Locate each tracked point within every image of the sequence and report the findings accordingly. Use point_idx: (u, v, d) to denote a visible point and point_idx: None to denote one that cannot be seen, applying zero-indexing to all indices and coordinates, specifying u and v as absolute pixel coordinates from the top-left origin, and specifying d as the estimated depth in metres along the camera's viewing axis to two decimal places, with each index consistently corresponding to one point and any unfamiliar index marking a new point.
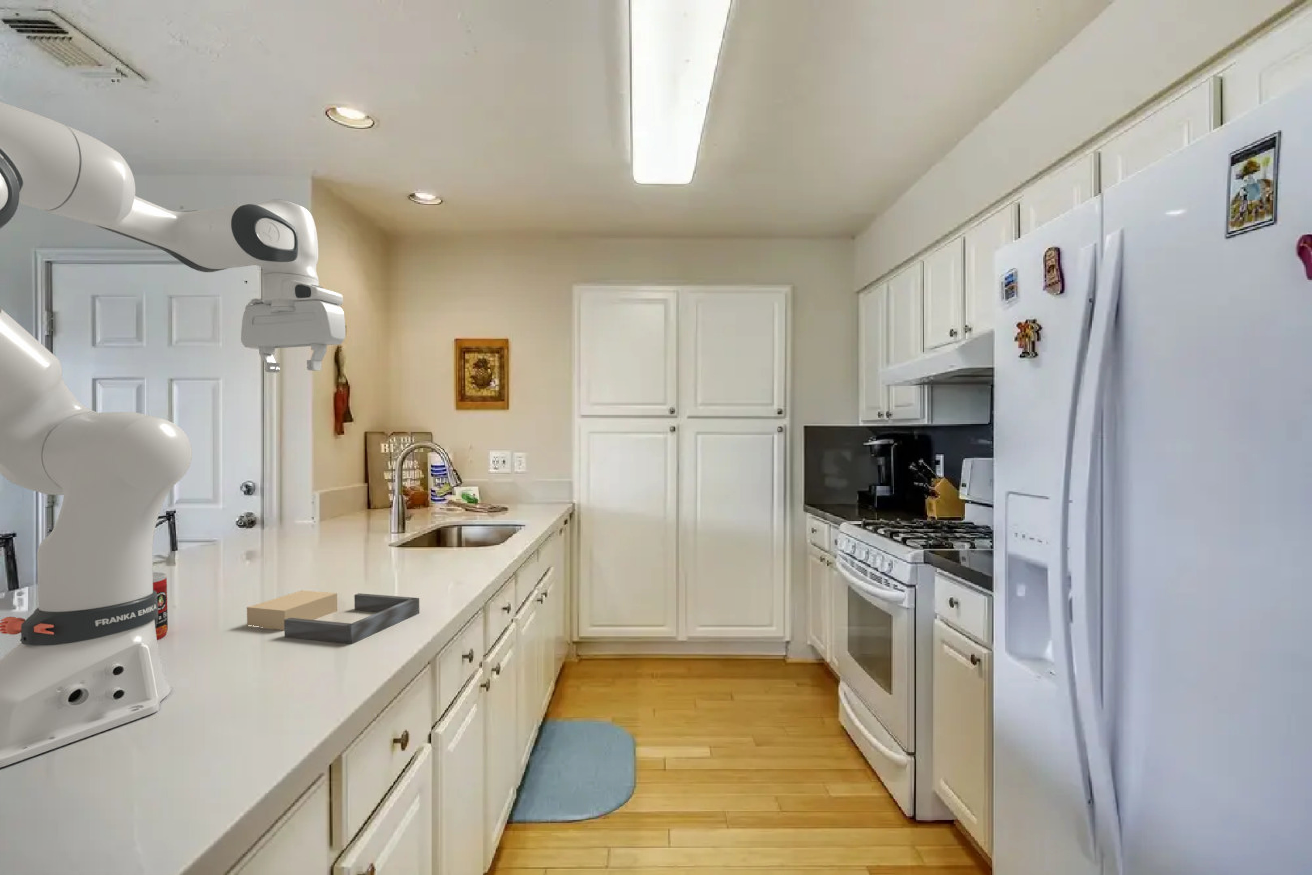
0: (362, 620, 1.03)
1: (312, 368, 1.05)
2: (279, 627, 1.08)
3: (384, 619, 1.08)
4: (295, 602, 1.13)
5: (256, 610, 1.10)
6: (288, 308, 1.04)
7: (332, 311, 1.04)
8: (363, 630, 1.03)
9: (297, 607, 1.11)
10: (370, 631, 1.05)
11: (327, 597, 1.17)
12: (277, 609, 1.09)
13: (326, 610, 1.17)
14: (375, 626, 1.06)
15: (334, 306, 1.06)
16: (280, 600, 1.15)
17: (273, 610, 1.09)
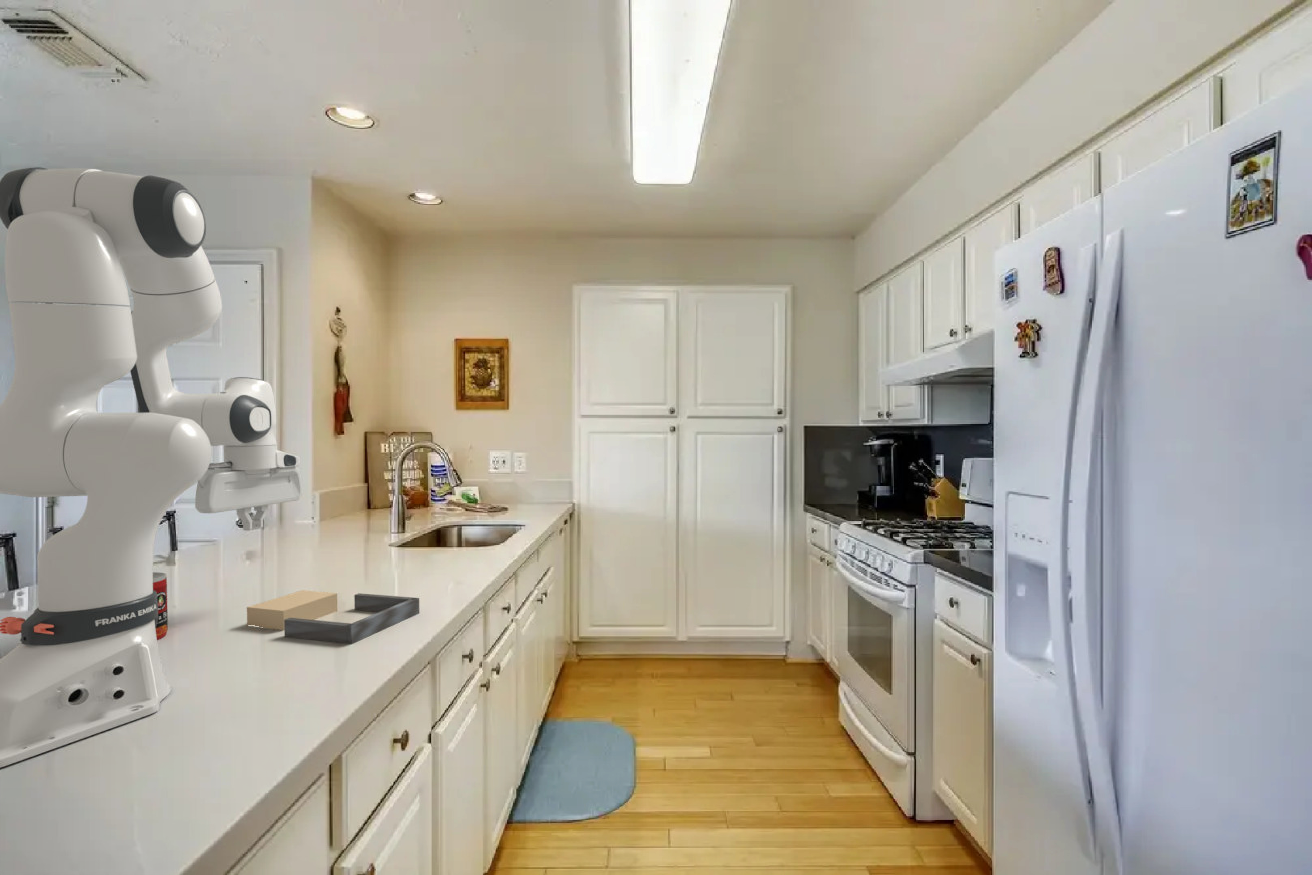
0: (362, 620, 1.03)
1: (261, 527, 1.19)
2: (278, 627, 1.08)
3: (384, 619, 1.08)
4: (295, 602, 1.13)
5: (256, 610, 1.10)
6: (270, 474, 1.19)
7: None
8: (363, 630, 1.03)
9: (296, 607, 1.10)
10: (370, 631, 1.05)
11: (327, 597, 1.17)
12: (276, 609, 1.09)
13: (326, 610, 1.17)
14: (375, 626, 1.06)
15: None
16: (280, 600, 1.15)
17: (272, 610, 1.09)
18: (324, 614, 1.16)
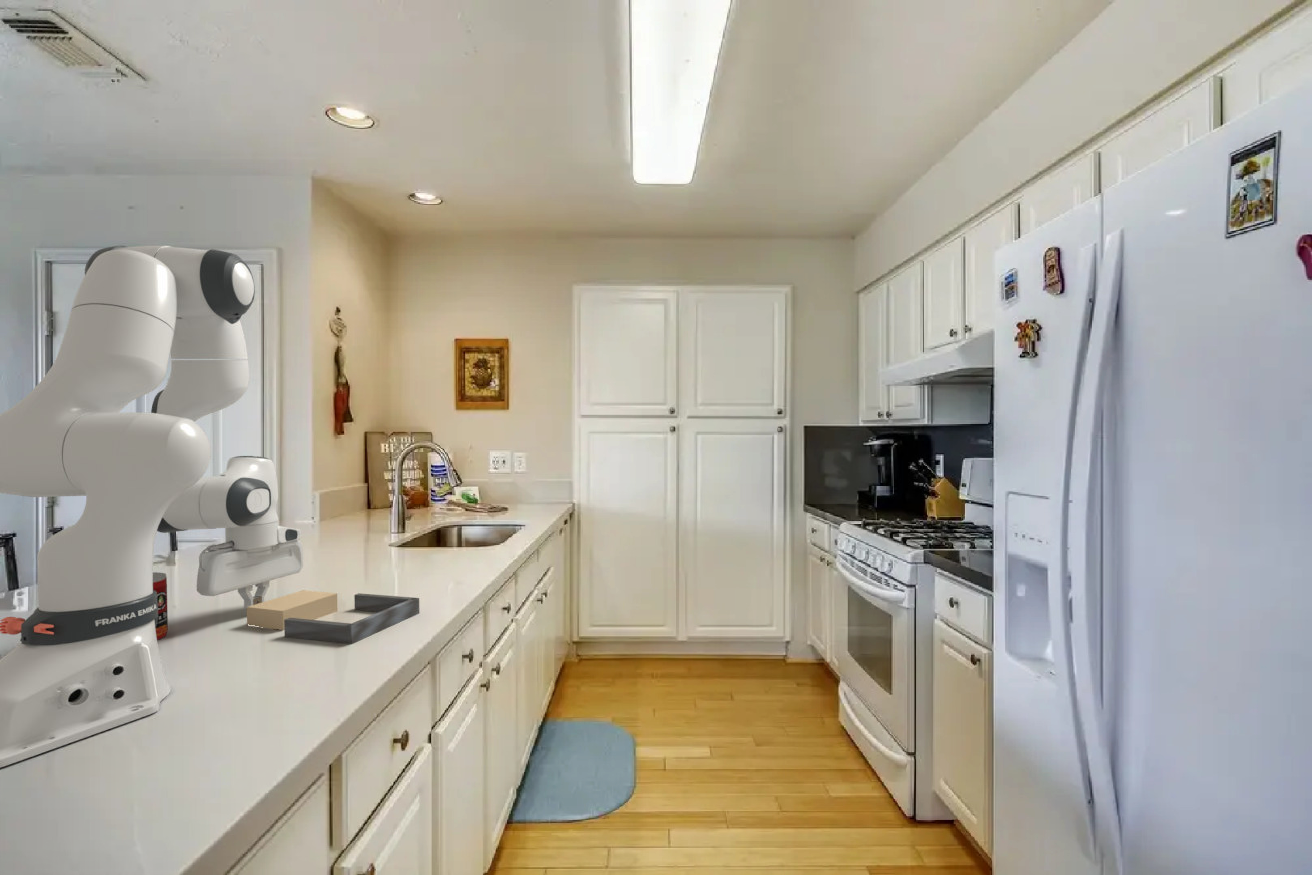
0: (362, 620, 1.03)
1: None
2: (278, 627, 1.08)
3: (384, 619, 1.08)
4: (295, 602, 1.13)
5: (256, 610, 1.10)
6: (271, 551, 1.19)
7: None
8: (363, 630, 1.03)
9: (296, 607, 1.10)
10: (370, 631, 1.05)
11: (327, 597, 1.17)
12: (276, 609, 1.09)
13: (326, 610, 1.17)
14: (375, 626, 1.06)
15: None
16: (280, 600, 1.15)
17: (272, 610, 1.09)
18: (324, 614, 1.16)
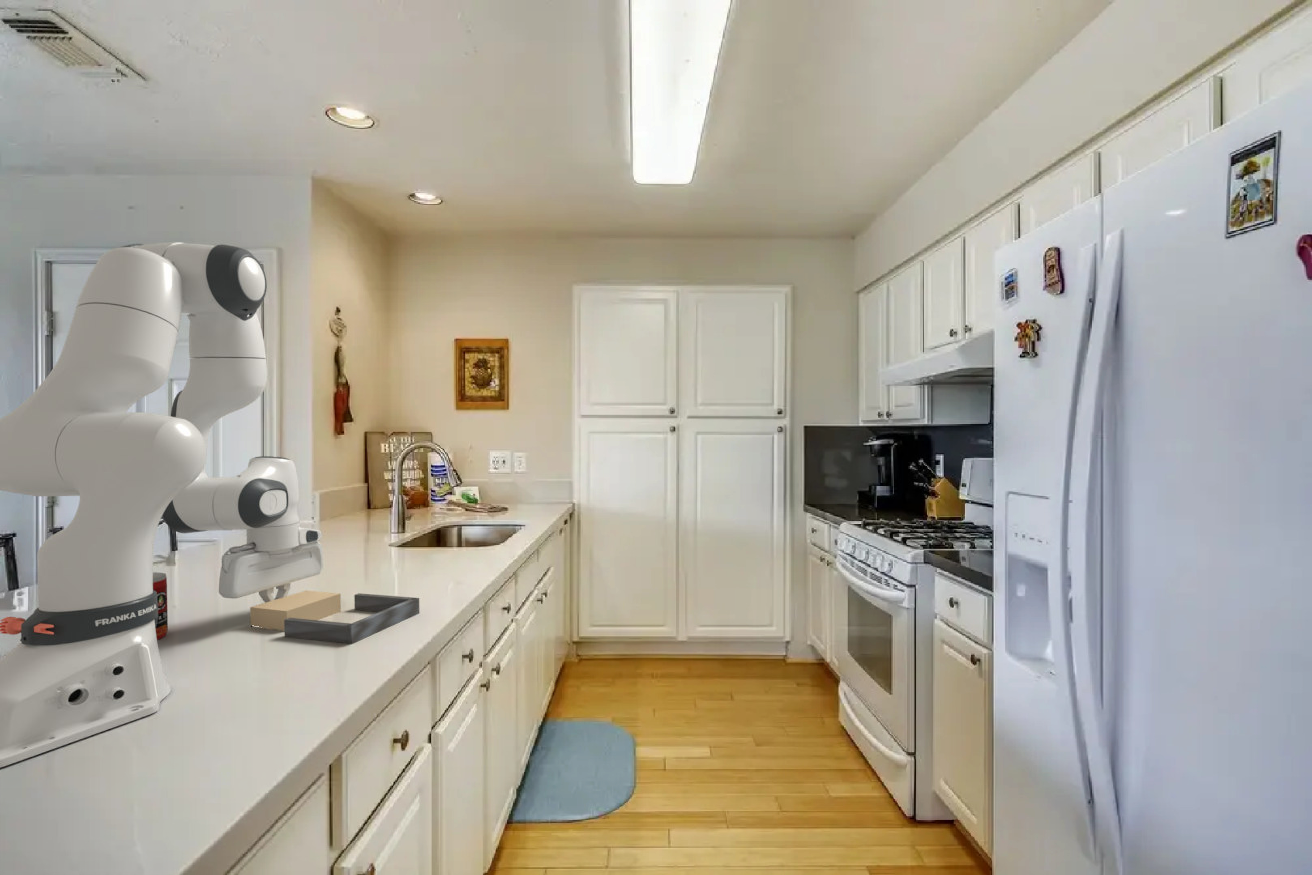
0: (362, 620, 1.03)
1: None
2: (281, 627, 1.08)
3: (384, 619, 1.08)
4: (298, 602, 1.13)
5: (259, 610, 1.09)
6: (292, 552, 1.17)
7: None
8: (363, 630, 1.03)
9: (299, 607, 1.10)
10: (370, 631, 1.05)
11: (330, 597, 1.17)
12: (279, 609, 1.08)
13: (329, 610, 1.16)
14: (375, 626, 1.06)
15: None
16: (283, 600, 1.14)
17: (275, 610, 1.08)
18: (327, 614, 1.16)
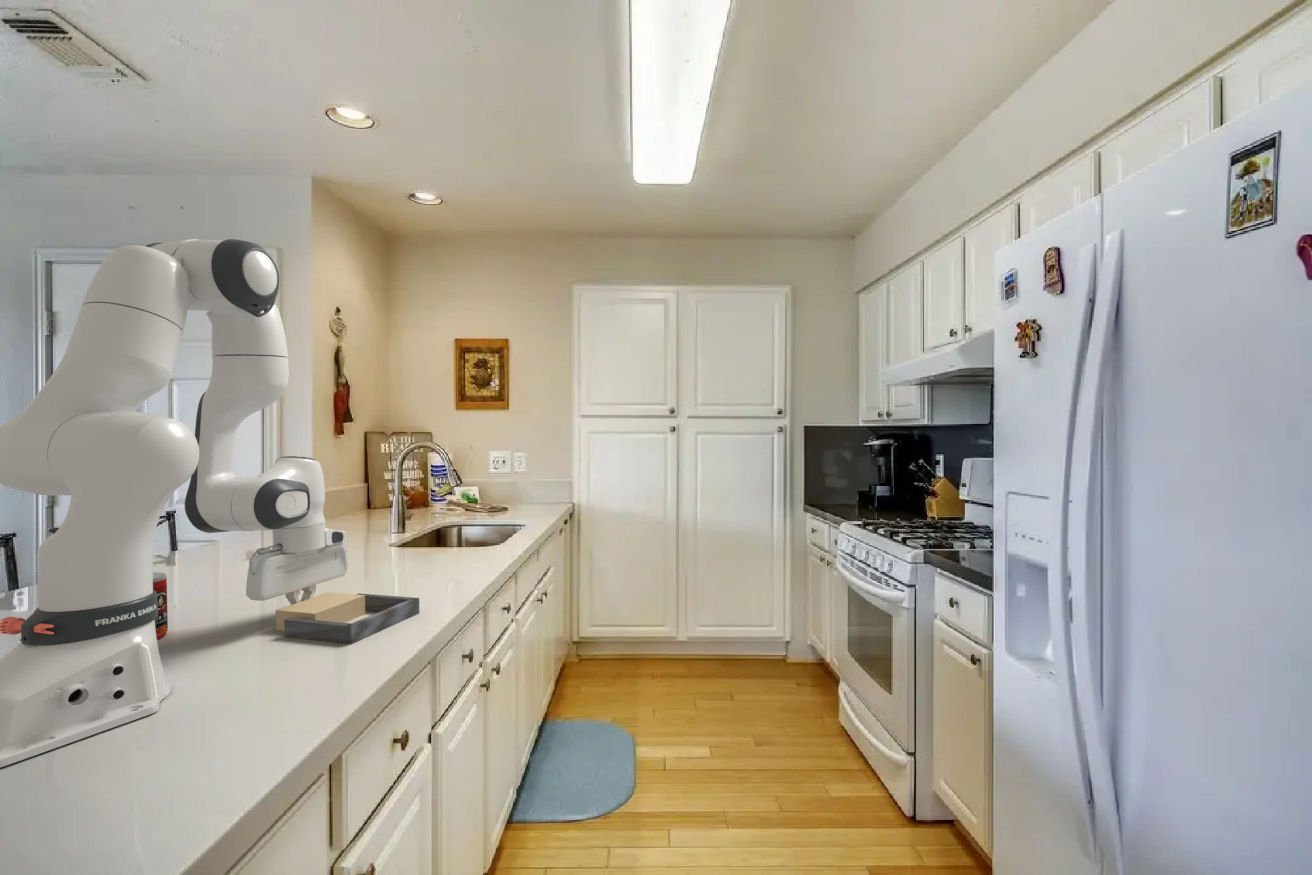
0: (362, 620, 1.03)
1: None
2: None
3: (384, 619, 1.08)
4: (324, 605, 1.11)
5: (285, 613, 1.07)
6: (318, 553, 1.15)
7: None
8: (363, 630, 1.03)
9: (327, 610, 1.08)
10: (370, 631, 1.05)
11: (355, 599, 1.15)
12: (307, 612, 1.06)
13: (354, 612, 1.15)
14: (375, 626, 1.06)
15: None
16: (308, 603, 1.12)
17: (303, 613, 1.06)
18: (353, 617, 1.14)
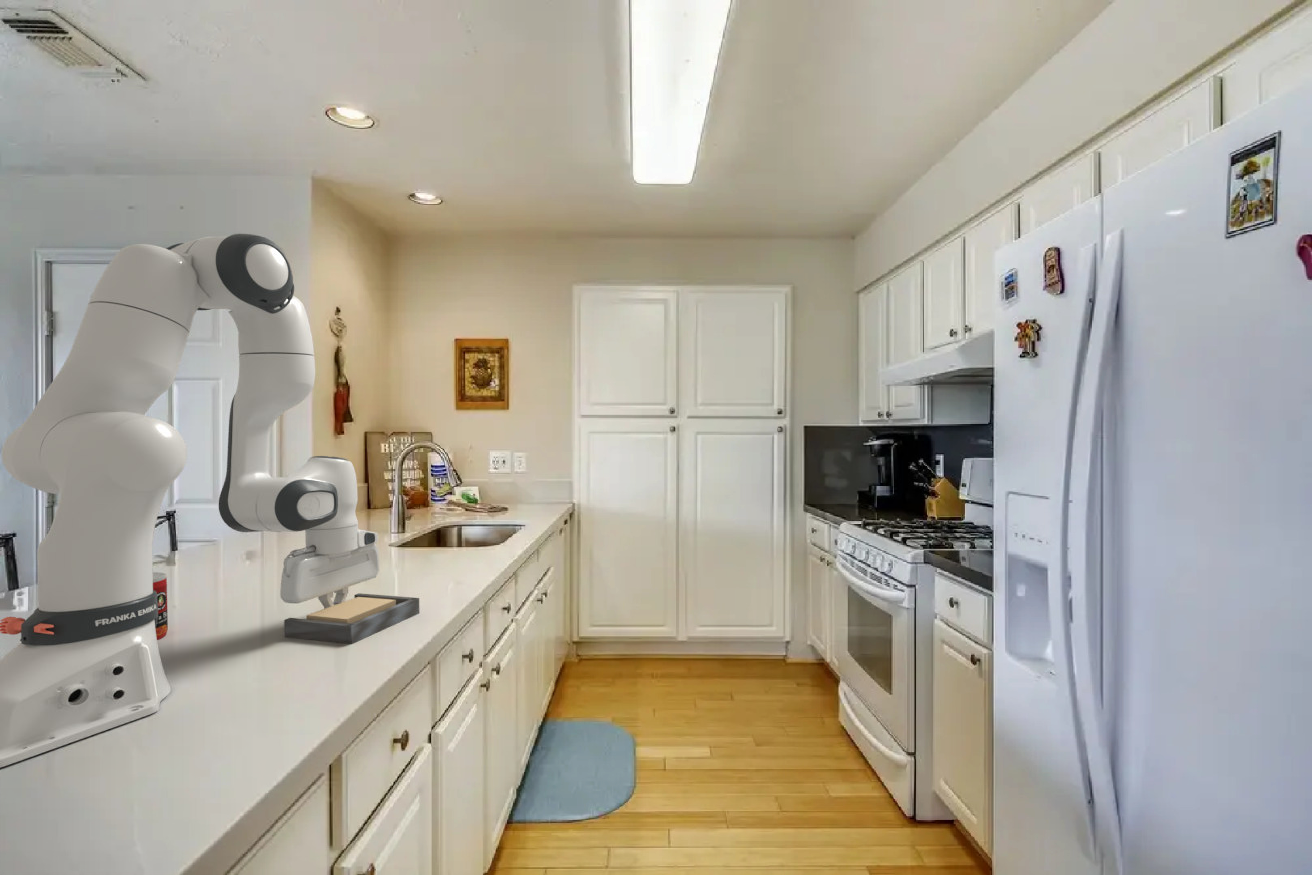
0: (362, 620, 1.03)
1: None
2: None
3: (384, 619, 1.08)
4: (355, 610, 1.08)
5: (316, 619, 1.05)
6: (351, 555, 1.13)
7: None
8: (363, 630, 1.03)
9: (359, 615, 1.05)
10: (370, 631, 1.05)
11: (387, 604, 1.12)
12: (339, 617, 1.04)
13: None
14: (375, 626, 1.06)
15: None
16: (339, 607, 1.10)
17: (335, 618, 1.04)
18: None
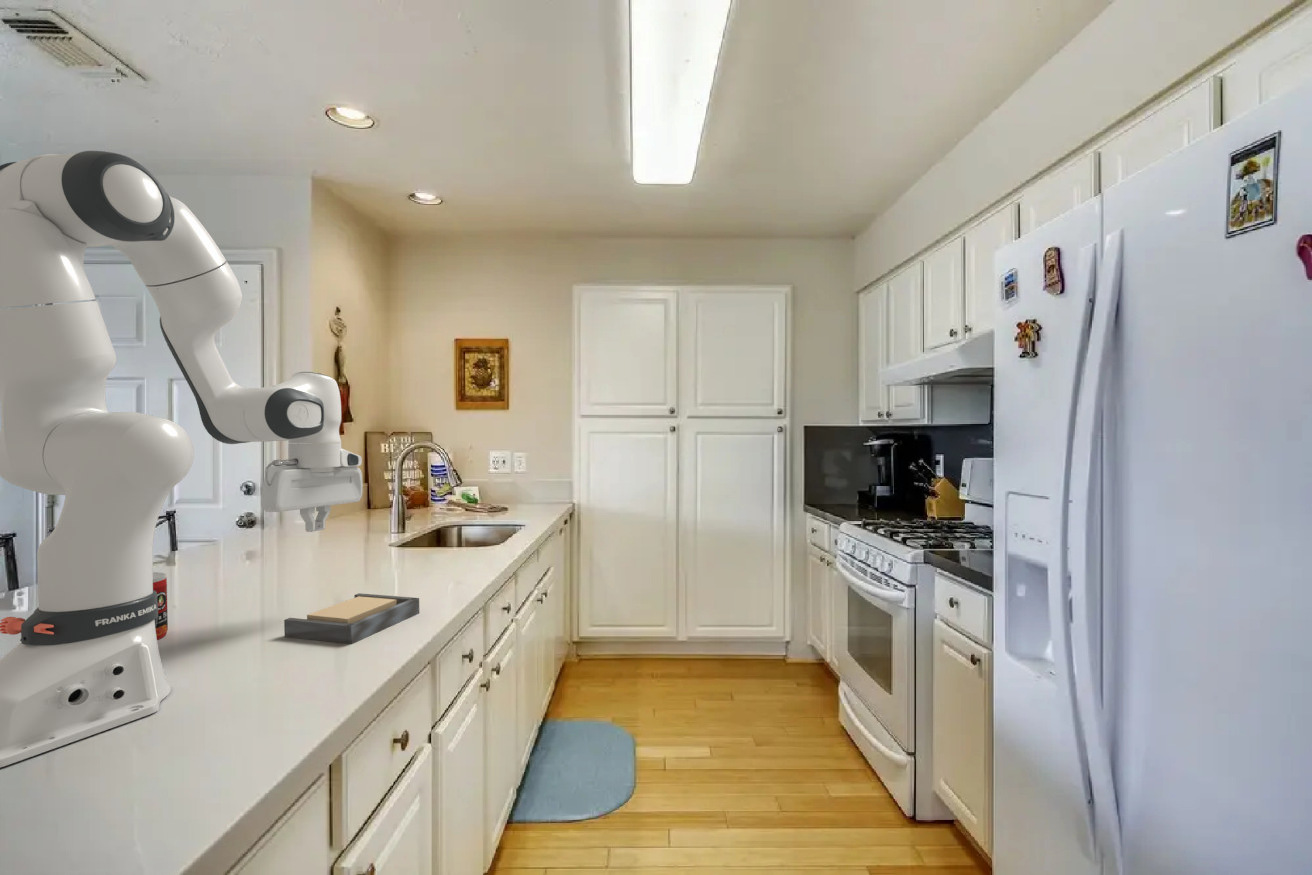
0: (362, 620, 1.03)
1: (323, 528, 1.14)
2: None
3: (384, 619, 1.08)
4: (356, 609, 1.08)
5: (317, 618, 1.05)
6: (333, 473, 1.14)
7: None
8: (363, 630, 1.03)
9: (359, 615, 1.05)
10: (370, 631, 1.05)
11: (387, 604, 1.12)
12: (339, 617, 1.04)
13: None
14: (375, 626, 1.06)
15: None
16: (339, 607, 1.09)
17: (335, 618, 1.03)
18: None
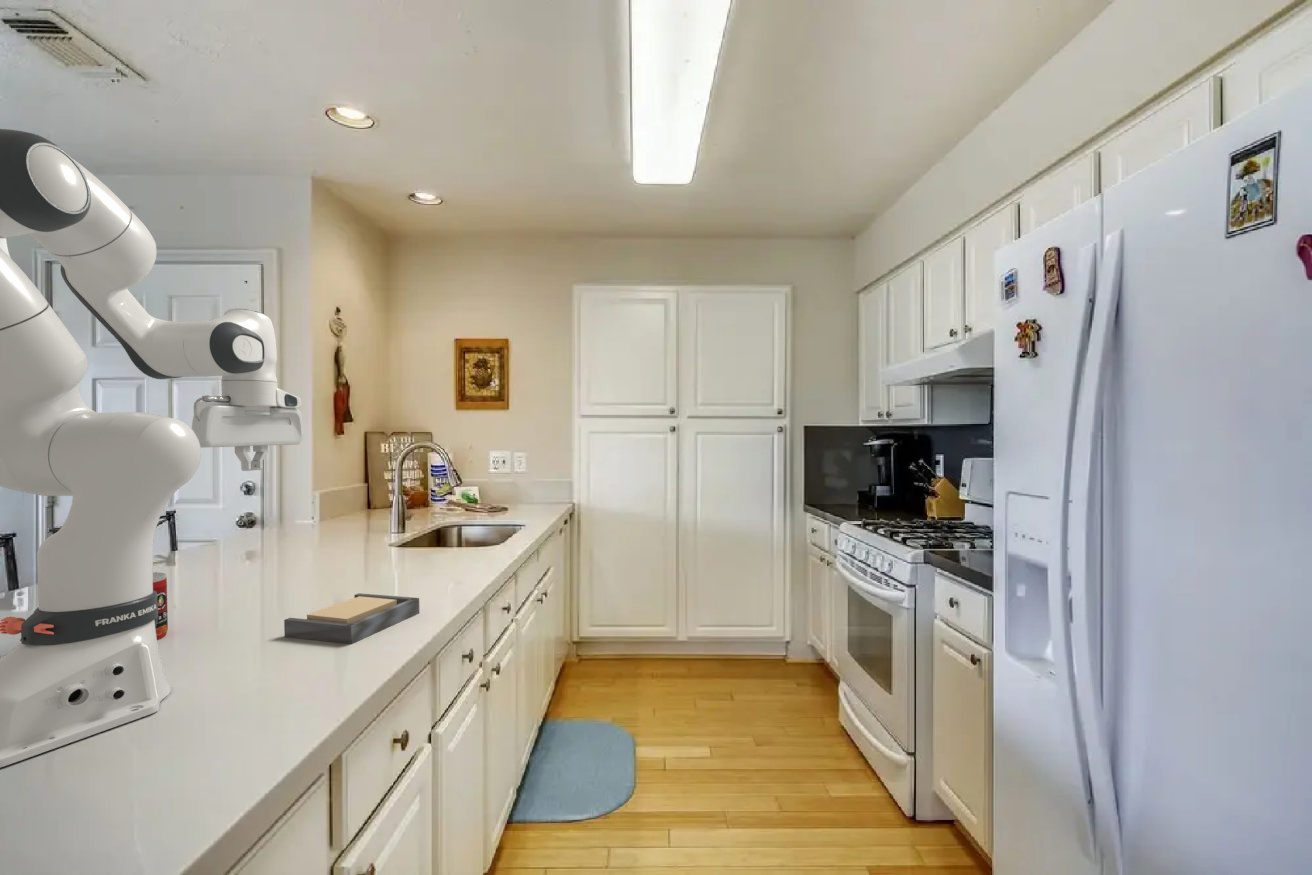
0: (362, 620, 1.03)
1: (260, 468, 1.13)
2: None
3: (384, 619, 1.08)
4: (356, 609, 1.08)
5: (317, 618, 1.05)
6: (270, 413, 1.13)
7: None
8: (363, 630, 1.03)
9: (359, 615, 1.05)
10: (370, 631, 1.05)
11: (387, 604, 1.12)
12: (339, 617, 1.04)
13: None
14: (375, 626, 1.06)
15: None
16: (340, 607, 1.09)
17: (334, 618, 1.03)
18: None
